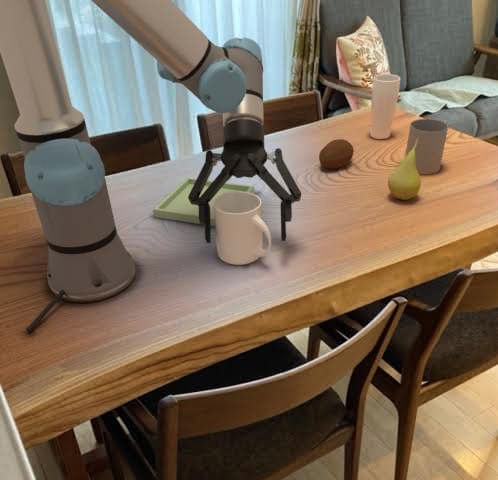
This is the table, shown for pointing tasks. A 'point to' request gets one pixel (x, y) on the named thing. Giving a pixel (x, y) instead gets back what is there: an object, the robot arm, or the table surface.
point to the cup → (427, 144)
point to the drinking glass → (383, 104)
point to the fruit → (405, 178)
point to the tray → (183, 210)
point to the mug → (239, 228)
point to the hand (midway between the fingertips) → (245, 240)
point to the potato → (336, 154)
